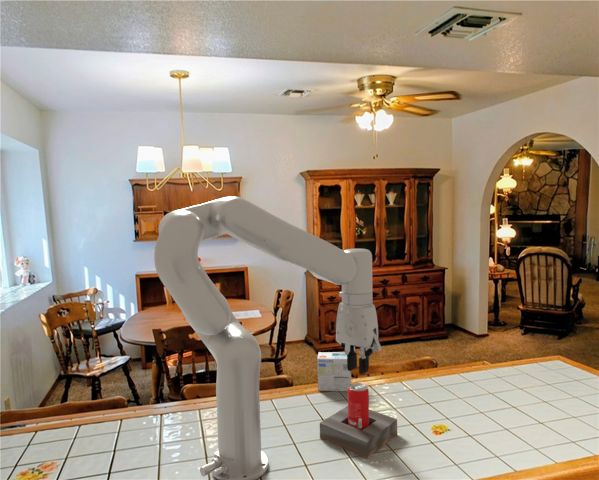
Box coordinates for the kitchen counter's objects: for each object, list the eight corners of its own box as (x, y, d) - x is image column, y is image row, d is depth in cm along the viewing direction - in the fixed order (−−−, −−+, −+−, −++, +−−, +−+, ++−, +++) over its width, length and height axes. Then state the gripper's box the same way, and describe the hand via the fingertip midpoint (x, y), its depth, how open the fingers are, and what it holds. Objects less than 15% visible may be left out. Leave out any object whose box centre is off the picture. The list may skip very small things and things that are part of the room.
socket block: (366, 458, 99) (366, 442, 99) (319, 438, 108) (319, 422, 108) (397, 434, 109) (397, 419, 109) (352, 417, 119) (351, 403, 118)
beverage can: (344, 430, 110) (343, 385, 109) (361, 425, 112) (361, 381, 111) (355, 440, 105) (354, 392, 104) (373, 435, 107) (372, 388, 106)
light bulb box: (350, 383, 142) (350, 351, 141) (351, 392, 135) (350, 358, 134) (318, 382, 143) (318, 351, 142) (317, 391, 136) (316, 358, 135)
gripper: (322, 297, 109) (323, 367, 110) (377, 305, 98) (378, 384, 99) (339, 292, 114) (340, 359, 116) (393, 300, 104) (394, 374, 105)
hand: (358, 370), depth 108 cm, fingers open, 2 cm apart
